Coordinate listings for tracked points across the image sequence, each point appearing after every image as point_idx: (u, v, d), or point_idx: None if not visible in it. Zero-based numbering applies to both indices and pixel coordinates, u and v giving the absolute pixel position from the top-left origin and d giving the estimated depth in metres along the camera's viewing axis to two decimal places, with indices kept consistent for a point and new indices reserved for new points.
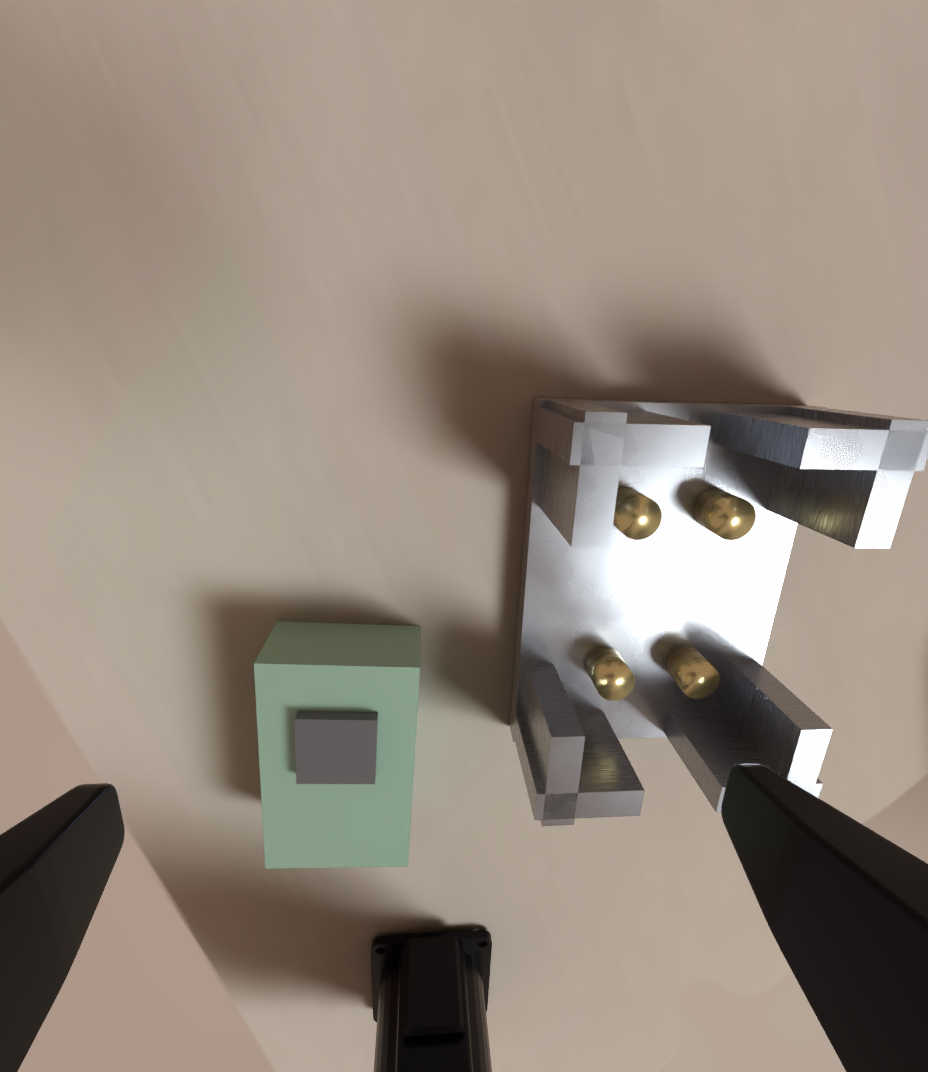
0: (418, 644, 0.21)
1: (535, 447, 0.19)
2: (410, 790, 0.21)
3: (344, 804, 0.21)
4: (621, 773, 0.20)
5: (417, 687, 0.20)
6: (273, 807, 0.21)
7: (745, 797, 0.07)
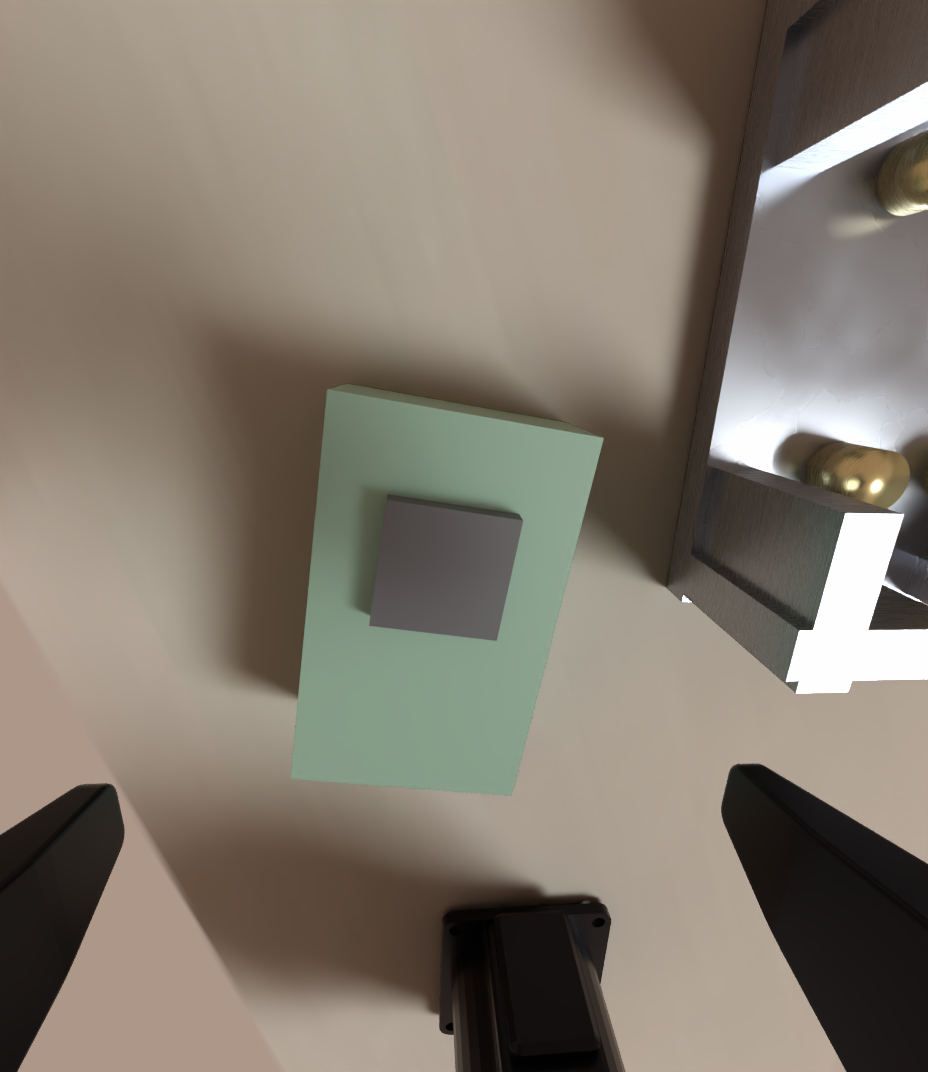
0: (579, 428, 0.13)
1: (781, 46, 0.11)
2: (542, 665, 0.13)
3: (433, 679, 0.13)
4: (916, 611, 0.12)
5: (591, 476, 0.12)
6: (319, 672, 0.13)
7: (745, 797, 0.07)
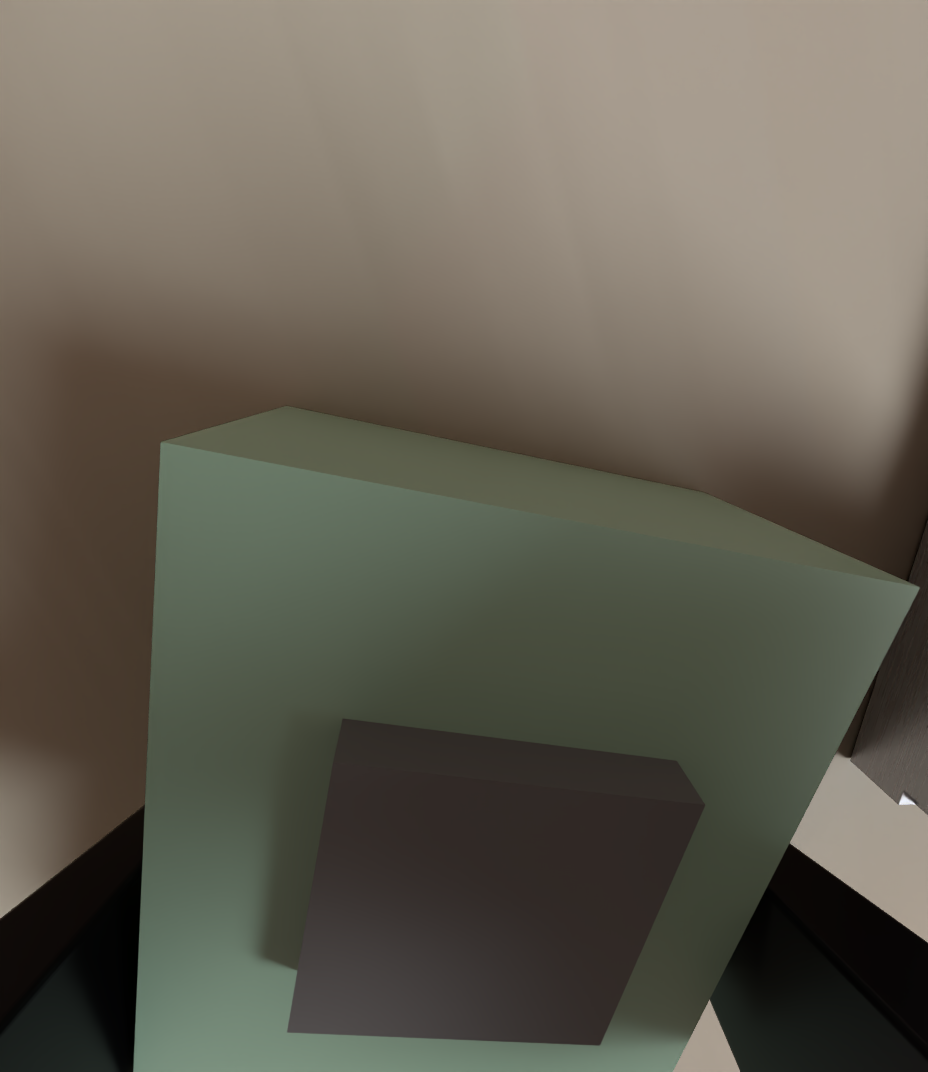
0: (781, 527, 0.06)
1: None
2: (681, 1042, 0.06)
3: None
4: None
5: (866, 675, 0.05)
6: None
7: None
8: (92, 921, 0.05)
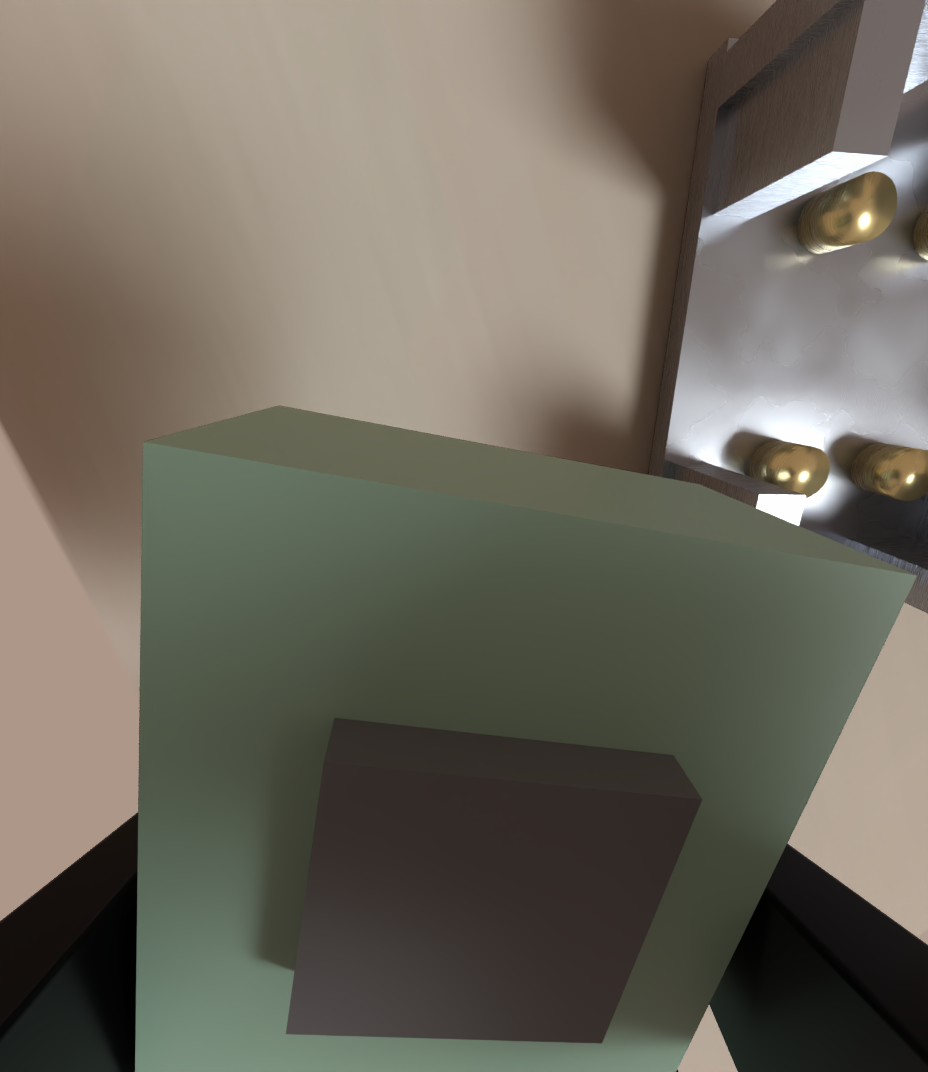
0: (778, 518, 0.06)
1: (714, 120, 0.14)
2: (685, 1039, 0.06)
3: None
4: None
5: (864, 666, 0.05)
6: None
7: None
8: (96, 921, 0.05)
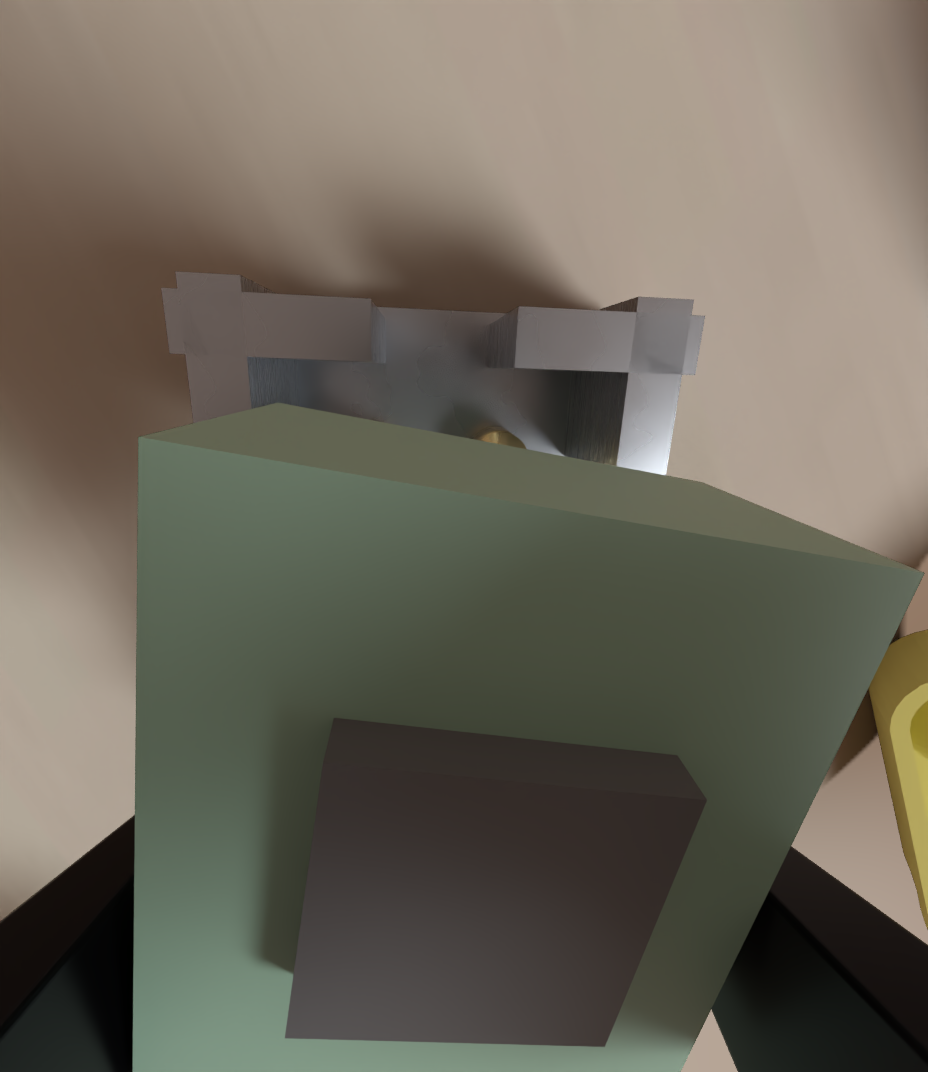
0: (782, 516, 0.06)
1: None
2: (688, 1042, 0.06)
3: None
4: None
5: (870, 665, 0.04)
6: None
7: None
8: (96, 921, 0.05)
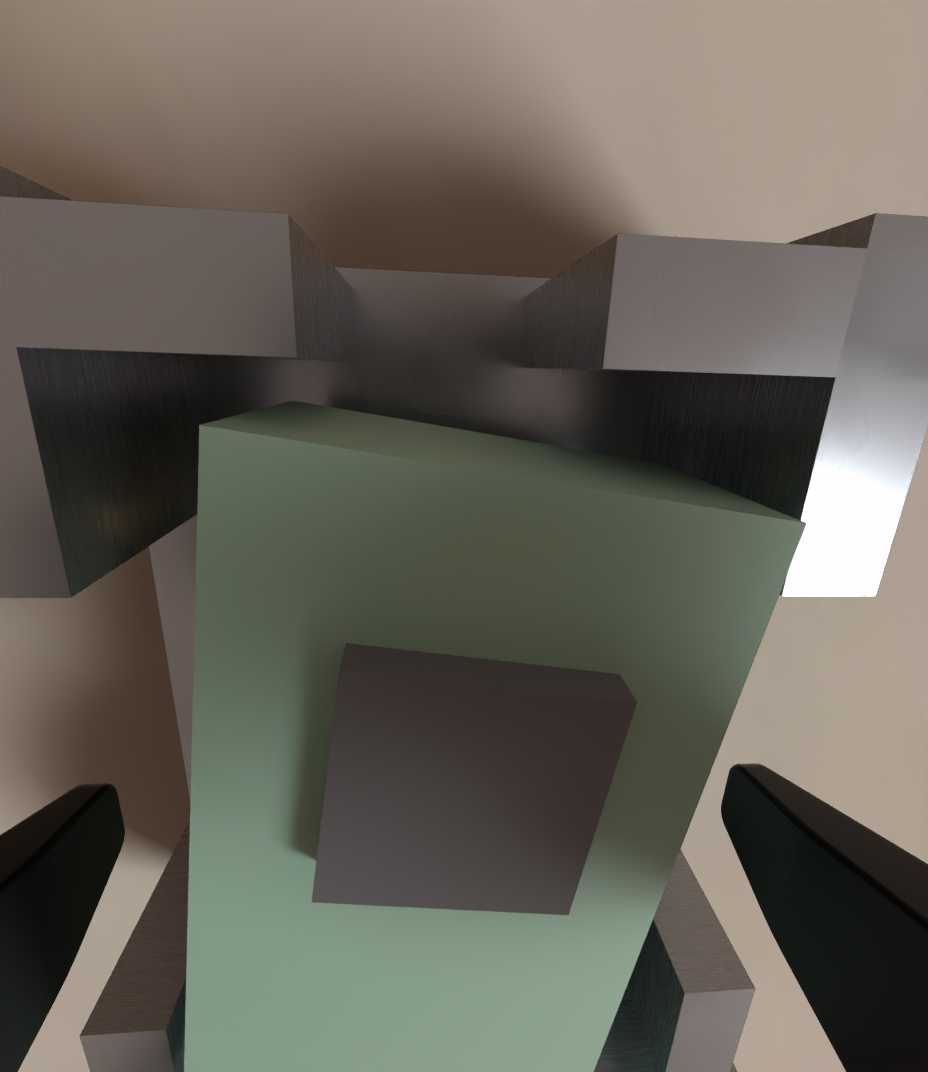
0: (714, 487, 0.07)
1: None
2: (644, 926, 0.07)
3: (442, 957, 0.07)
4: None
5: (771, 599, 0.06)
6: (224, 956, 0.07)
7: (745, 797, 0.07)
8: None
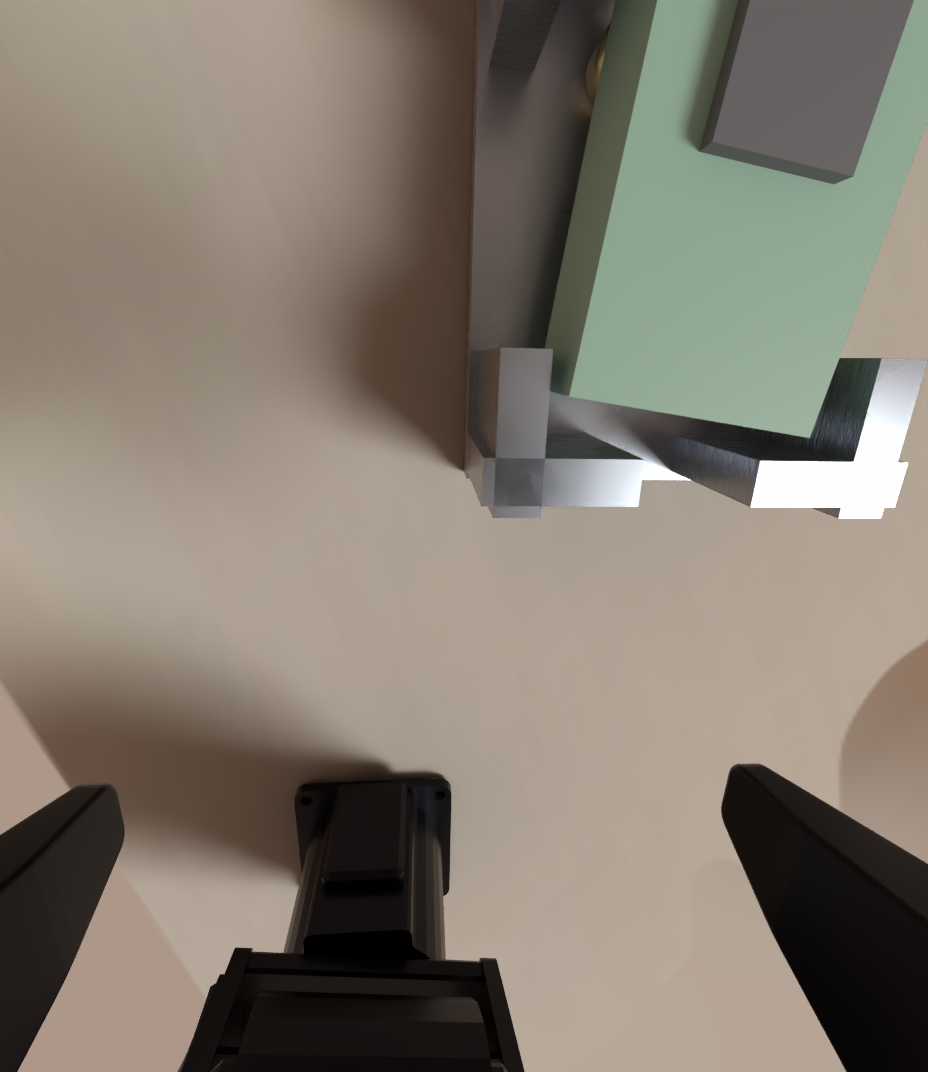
0: None
1: None
2: (879, 242, 0.11)
3: (753, 256, 0.11)
4: (611, 454, 0.14)
5: None
6: (627, 235, 0.11)
7: (745, 797, 0.07)
8: None
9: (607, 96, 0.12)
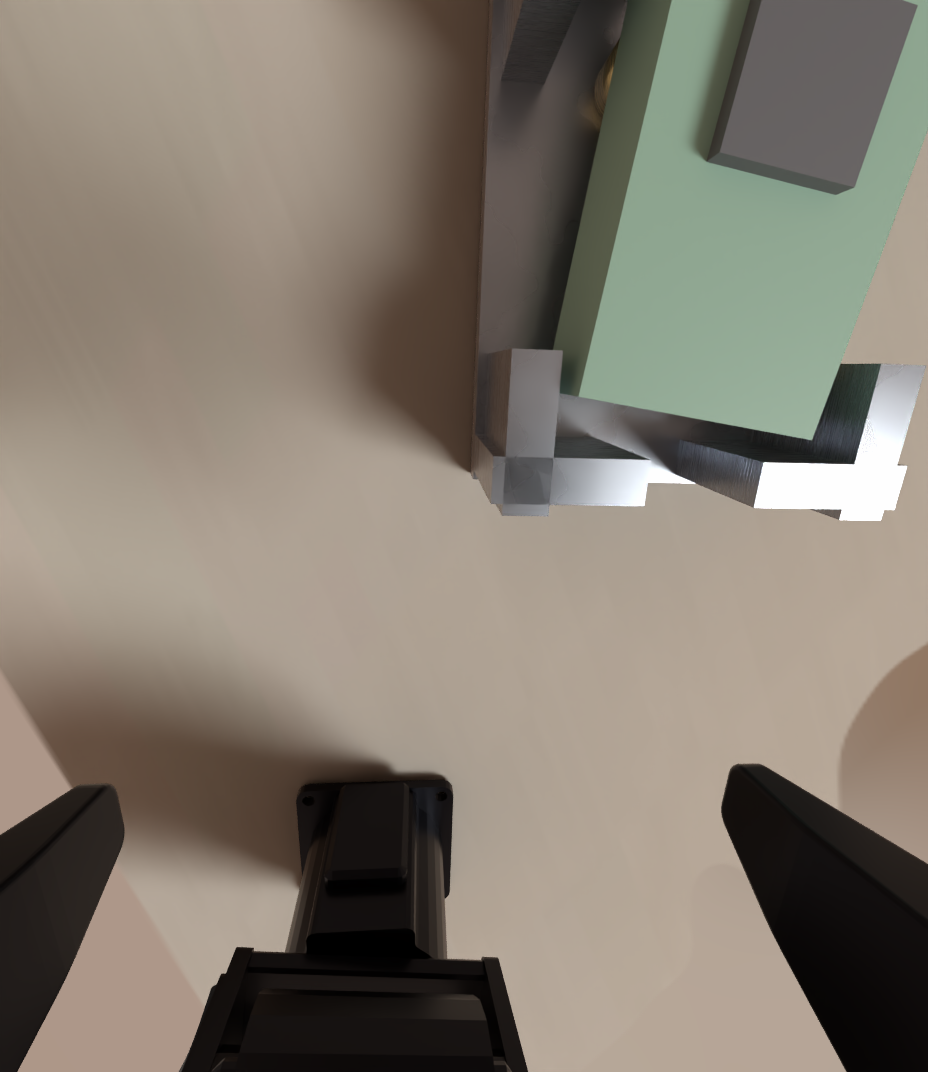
0: None
1: None
2: (878, 251, 0.11)
3: (757, 262, 0.11)
4: (617, 454, 0.14)
5: None
6: (636, 241, 0.11)
7: (745, 797, 0.07)
8: None
9: (616, 108, 0.12)
